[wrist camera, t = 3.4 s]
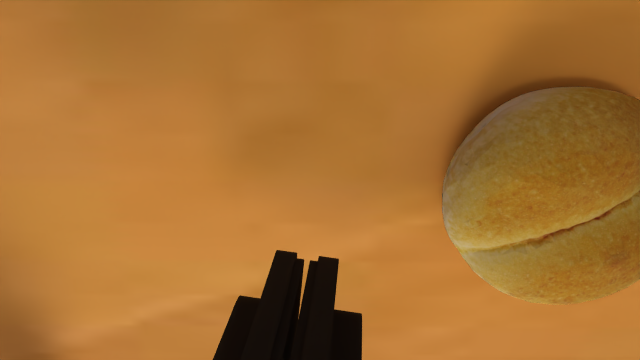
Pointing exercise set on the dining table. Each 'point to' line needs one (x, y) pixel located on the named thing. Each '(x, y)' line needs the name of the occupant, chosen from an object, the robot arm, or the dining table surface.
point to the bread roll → (550, 195)
